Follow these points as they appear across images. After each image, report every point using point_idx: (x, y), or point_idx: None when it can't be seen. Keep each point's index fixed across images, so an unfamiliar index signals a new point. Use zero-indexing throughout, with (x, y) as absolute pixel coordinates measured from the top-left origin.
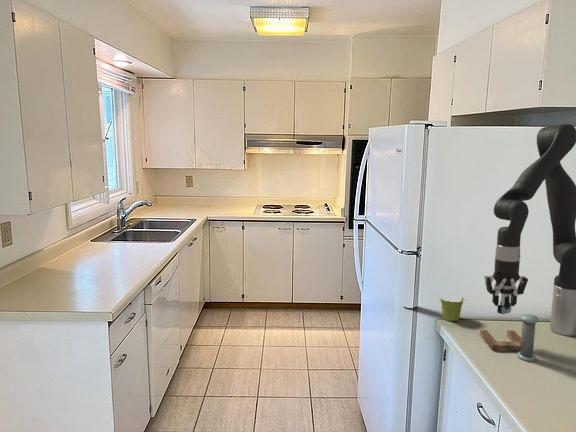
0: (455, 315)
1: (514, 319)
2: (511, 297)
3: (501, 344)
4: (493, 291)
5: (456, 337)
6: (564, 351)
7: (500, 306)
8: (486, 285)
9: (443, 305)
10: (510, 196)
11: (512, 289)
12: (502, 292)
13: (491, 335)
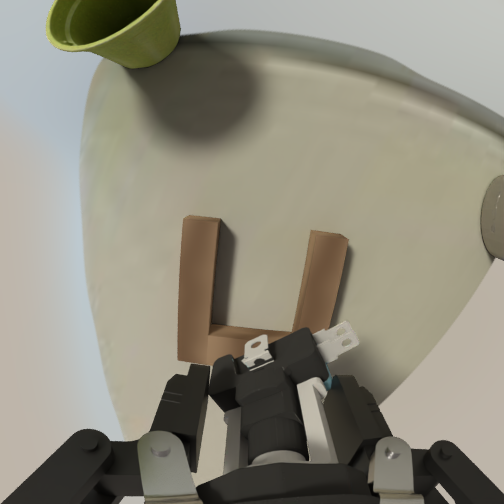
0: (135, 60)
1: (422, 83)
2: (346, 434)
3: (214, 359)
4: (130, 491)
5: (91, 231)
6: (413, 354)
7: (222, 409)
8: (35, 486)
9: (73, 33)
10: None
11: None
12: None
13: (211, 282)
